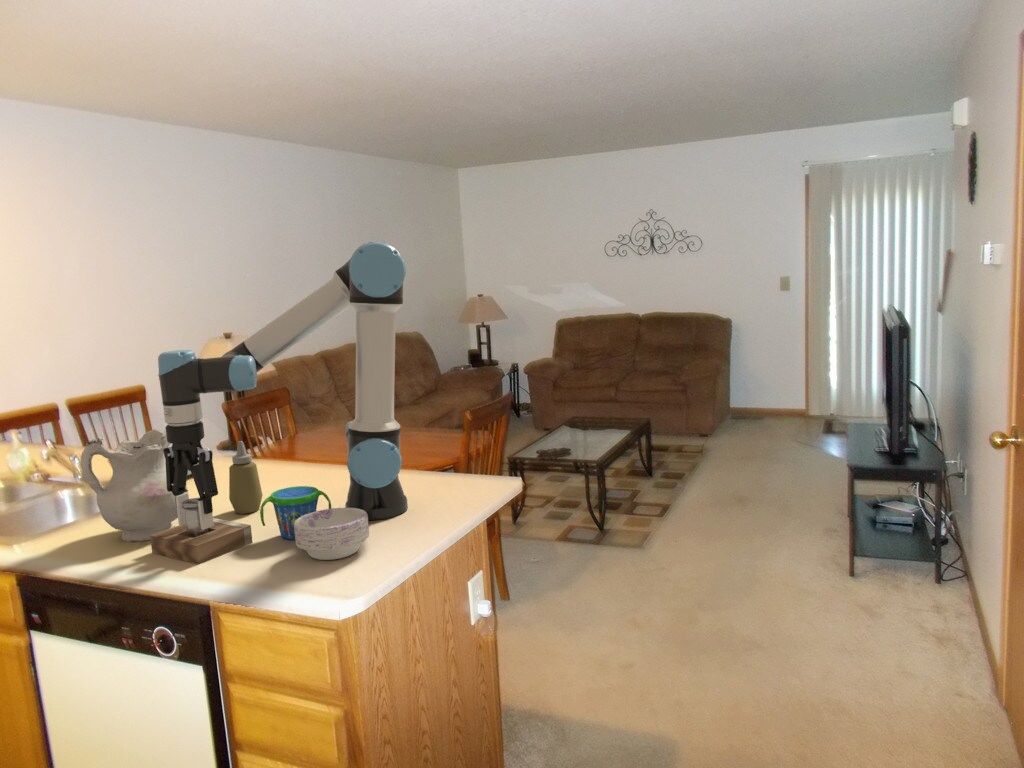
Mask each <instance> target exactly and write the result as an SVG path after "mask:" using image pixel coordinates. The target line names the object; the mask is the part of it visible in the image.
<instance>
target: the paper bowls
mask: <svg viewBox="0 0 1024 768" xmlns="http://www.w3.org/2000/svg"><path fill="white" fill-rule="evenodd" d="M331 508H332V509H329V508H328V509H327V508H326V509H325V508H324V509H320V510H316V512H312V513H309V514H306V515H303V516H301V517H300V518H298V519H297V520H296V521H295V522H294V530H295V539H294V540H295V541H294V542H295V545H296V547H297V548H299V549H300V550H304V551H306V552H307V554H308V555H309V557H311V558H313V559H315V560H320V561H332V560H333V561H334V560H340V559H343V558H347V557H350V556H352V555H353V554H355V553H356V552H357V551H358V550H359V548H360V546H361V543H363V542H364V541H366V540H367V539H368V538H369V537H370V528H369V527H370V526H369V520H368V515H367V513H366V512H365V511H364V510H361V509H357V508H345V507H331Z"/></svg>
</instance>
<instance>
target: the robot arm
mask: <svg viewBox="0 0 1024 768" xmlns="http://www.w3.org/2000/svg"><path fill="white" fill-rule="evenodd" d="M405 278H406V264H405V261H404V258H403V256H402V254H401V253H400V252H399V251H398V250H397V248H395V247H394V246H393V245H391V244H388V243H386V242H383V241H378V240H377V241H369V242H367V243H363V244H362V245H359V246H358V248H356V249H355V251H354V252H353V254H352V255H351V257H350V259H348V260H347V262H345V263H344V264H343V265H342V266H340V267H339V268H338V269H336V270H335V271H334V272H333V276H332V278H331V279H330V280H329V281H327V282H325V283H324V284H322V286H319V287H318V288H317V289H316V290H314V291H313V292H312V293H310V294H309V295H307V296H306V297H305V298H303V299H302V300H300V301H299V302H297V303H296V304H294V305H293V306H291V307H290V308H289V309H287V310H286V311H285V312H283V313H282V314H280V315H278V316H277V317H276V318H275V319H273V320H271V321H270V322H269V323H267V324H266V325H265V326H263V327H262V328H260V329H259V330H258V331H256V332H255V333H253V334H252V335H250V336H249V337H247V338H246V339H245V340H244V341H243V342H240V343H239V344H237V345H236V346H235V347H233V348H232V349H231V350H228V351H227V352H225V353H224V354H223V355H222V356H220V357H209V358H208V357H207V358H199V357H197V356H196V352H195V351H194V350H193V349H181V350H180V349H179V350H169V351H164V352H161V353H160V354H159V355H158V356H157V364H158V374H157V376H158V380H159V386H160V392H161V393H160V394H161V400H162V401H161V402H162V405H163V416H164V417H163V418H164V423H165V424H167V425H166V426H165V428H164V429H165V431H166V436H167V441H168V442H169V443H171V446H168V448H164V449H163V452H164V456H165V462H166V482H167V491H168V492H170V491H171V492H172V493H173V495H175V502H176V508H177V514H178V518H177V522H178V526H179V525H183V524H186V521H185V512H184V509H183V508H182V502H183V501H184V500H187V499H190V497H189V493H184V492H187V491H189V490H188V488H187V489H186V484H187V482H188V480H187V479H188V476H187V473H188V470H189V471H191V473H192V474H191V477H192V479H193V481H194V484H195V488H196V490H197V494H198V496H199V497H198V498H199V499H197V500H198V508H199V516H200V525H201V529H202V530H204V529H207V528H209V527H212V526H214V523H213V518H214V516H213V513H214V512H213V511H214V510H213V509H214V508H213V499H212V498H214V497H216V496H218V495H219V491H218V484H217V479H216V475H215V468H214V463H213V456H214V455H213V451H212V450H211V449H209V451H205V450H203V448H202V447H203V445H202V443H201V441H202V439H204V438H205V430H204V429H205V428H204V422H203V421H201V420H202V419H203V411H202V410H203V409H202V404H201V401H202V400H201V395H202V394H210V393H211V394H212V393H226V392H227V393H228V392H242V391H247V390H254V389H255V388H256V387H257V382H258V374H257V373H258V372H259V371H261V370H262V369H264V368H265V367H266V366H268V365H270V364H271V362H273V361H275V360H277V359H278V358H279V357H281V356H282V355H283V354H285V353H286V352H288V351H289V350H290V349H292V348H293V347H295V346H296V345H297V344H299V343H300V342H302V341H304V340H305V339H306V338H308V337H309V336H310V335H312V334H314V333H315V332H316V331H318V330H320V328H321V327H323V326H325V325H326V324H327V323H329V322H330V321H332V320H333V319H334V318H336V317H338V316H339V315H340V314H342V313H343V312H345V311H346V310H348V309H349V308H351V307H352V308H353V309H354V310H355V312H356V314H355V315H356V322H355V323H356V324H355V325H356V326H355V330H356V331H355V332H356V333H355V334H356V335H355V397H354V398H355V401H354V402H355V409H354V411H355V413H354V416H355V418H354V419H353V420H352V421H348V422H347V423H346V425H345V437H346V448H347V462H346V466H347V470H348V473H349V479H350V480H349V482H350V484H349V488H348V492H347V499H346V501H345V505H344V506H345V507H344V508H357V509H361V510H364V511H365V512H366V513H367V515H368V521H374V520H376V521H377V520H384V519H389V518H392V517H393V518H394V517H397V516H398V515H402V514H404V513H405V512H406V511H407V510H408V509H407V508H409V505H408V498H407V496H406V494H405V493H404V489H403V487H402V484H401V482H400V478H399V474H400V471H401V469H402V466H403V457H402V453H401V424H400V423H399V422H398V421H397V420H396V419H395V382H396V381H395V370H396V367H395V366H396V365H395V364H396V322H397V321H396V318H397V317H396V313H397V312H398V311H399V309H401V308H402V306H403V305H404V304H403V302H404V301H403V300H404V281H405ZM197 463H199V464H198V465H196V464H197ZM193 465H194V466H193ZM172 484H173V485H172ZM401 513H402V514H401Z"/></svg>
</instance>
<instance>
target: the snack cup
mask: <svg viewBox="0 0 1024 768" xmlns="http://www.w3.org/2000/svg"><path fill="white" fill-rule="evenodd" d="M320 496H323V497H324V498H325V499H326V500H327V502H328V509H332V508H333V507H332V502H331V499H330V498H329V496H328V495H327V493H326V492H324V491H322V490H319V488H317V487H314V486H310V485H309V486H307V485H305V486H304V485H302V486H301V485H300V486H299V485H298V486H297V485H295V486H290V487H284V488H281V489H278V490H275V491H273V492H272V493H271V494H270V496H267V497H266V498H265V499H264V500H263V501H262V502H261V503H262V504H260V508H259V510H260V511H259V516H260V521H261V524H262V526H263V527H265V526H266V523H265V520H264V507H265V505H267V504H268V503H269V502H270V503H272V504H273V508H274V512H275V518H276V521H277V526H278V528H279V529H278V530H279V532H280V537H282V538H284V539H286V540H290V541H291V540H295V530H294V522H295V521H296V520H297V519H298V518H300V517H301V516H303V515H306V514H309V513H312V512H316V511H317V507H318V502H319V497H320Z"/></svg>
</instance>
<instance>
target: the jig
mask: <svg viewBox="0 0 1024 768" xmlns="http://www.w3.org/2000/svg"><path fill="white" fill-rule="evenodd" d="M213 523H214V526H212V527H209V528H208V532H209V533H206V534H203V535H200V536H198V537H195V538H192V537H188V536H187V530H186V524H183V525H179V524H178V525H177V526H176V527H173V528H170V529H168V530H165V531H162V532H159V533H156V534H153V535H150V540H149V541H150V546H151V554H154V555H155V554H156V555H159V556H163V557H168V558H170V559H175V560H179V561H184V562H188V563H192V564H197V565H200V564H203V563H206V562H208V561H210V560H213V559H215V558H217V557H220V556H223V555H225V554H228V553H230V552H233V551H235V550H238V549H240V548H243V547H245V546H248V545H250V544H253V534H252V525H251V524H247V523H242V522H238V521H237V522H236V521H232V520H226V519H221V518H215V517H213Z"/></svg>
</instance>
